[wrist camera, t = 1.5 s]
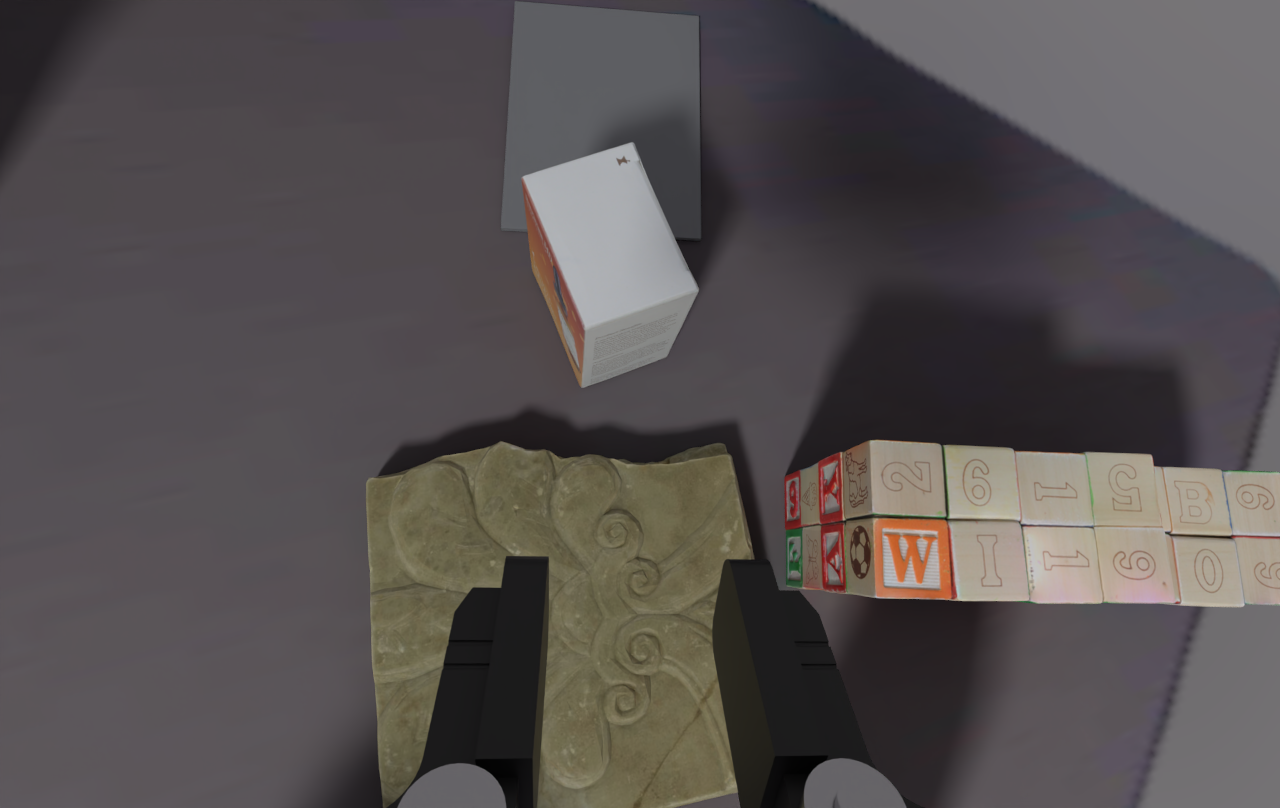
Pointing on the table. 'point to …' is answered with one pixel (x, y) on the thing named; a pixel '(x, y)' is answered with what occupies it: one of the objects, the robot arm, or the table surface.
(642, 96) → the mat
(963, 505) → the stack of blocks
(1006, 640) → the table surface
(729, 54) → the table surface
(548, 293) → the small box
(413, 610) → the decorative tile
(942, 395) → the table surface
